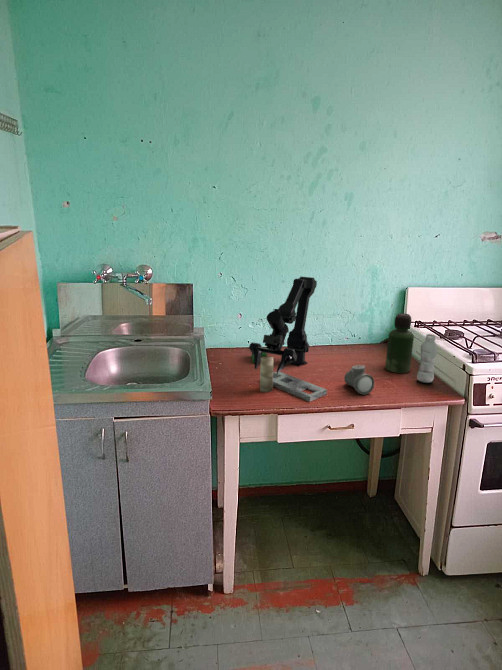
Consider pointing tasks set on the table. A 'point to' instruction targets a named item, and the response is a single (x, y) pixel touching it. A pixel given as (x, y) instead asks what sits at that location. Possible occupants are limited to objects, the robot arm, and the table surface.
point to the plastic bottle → (427, 359)
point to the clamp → (254, 357)
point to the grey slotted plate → (297, 386)
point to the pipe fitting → (359, 379)
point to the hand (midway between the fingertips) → (266, 371)
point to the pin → (266, 374)
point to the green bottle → (400, 345)
